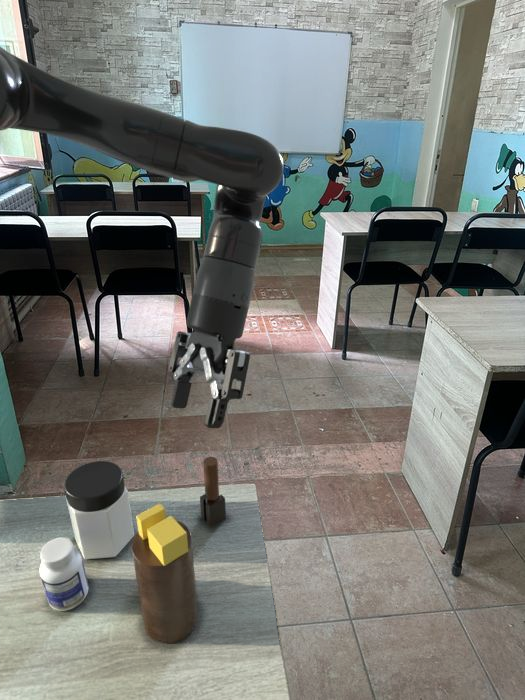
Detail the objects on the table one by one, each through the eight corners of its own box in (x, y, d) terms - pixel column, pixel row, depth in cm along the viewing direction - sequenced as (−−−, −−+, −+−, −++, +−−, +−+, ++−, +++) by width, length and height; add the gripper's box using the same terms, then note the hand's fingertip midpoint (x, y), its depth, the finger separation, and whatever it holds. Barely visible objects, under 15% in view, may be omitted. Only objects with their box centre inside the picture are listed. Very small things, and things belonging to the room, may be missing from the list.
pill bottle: (56, 578, 68) (43, 533, 64) (93, 577, 68) (83, 532, 64) (42, 613, 64) (27, 566, 60) (82, 612, 64) (70, 565, 60)
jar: (104, 510, 80) (93, 453, 75) (144, 526, 77) (135, 467, 72) (63, 550, 73) (48, 489, 67) (106, 569, 70) (93, 507, 64)
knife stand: (201, 517, 79) (199, 496, 77) (215, 508, 80) (214, 488, 78) (210, 527, 77) (209, 506, 75) (225, 518, 79) (225, 497, 77)
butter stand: (134, 614, 63) (121, 538, 57) (179, 584, 68) (172, 510, 61) (161, 655, 59) (150, 577, 52) (208, 620, 63) (203, 543, 57)
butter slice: (138, 534, 58) (136, 515, 56) (162, 521, 60) (159, 503, 58) (143, 540, 57) (140, 521, 56) (167, 526, 59) (165, 508, 58)
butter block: (149, 547, 56) (146, 528, 55) (173, 533, 58) (171, 515, 57) (164, 566, 54) (162, 547, 52) (188, 551, 56) (186, 532, 54)
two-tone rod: (203, 517, 79) (199, 460, 73) (215, 510, 80) (212, 454, 75) (211, 525, 77) (208, 468, 72) (223, 518, 79) (221, 461, 73)
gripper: (169, 286, 65) (144, 400, 66) (231, 298, 55) (200, 434, 56) (213, 296, 70) (189, 403, 71) (278, 310, 60) (248, 435, 61)
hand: (194, 417), depth 64 cm, fingers open, 8 cm apart
